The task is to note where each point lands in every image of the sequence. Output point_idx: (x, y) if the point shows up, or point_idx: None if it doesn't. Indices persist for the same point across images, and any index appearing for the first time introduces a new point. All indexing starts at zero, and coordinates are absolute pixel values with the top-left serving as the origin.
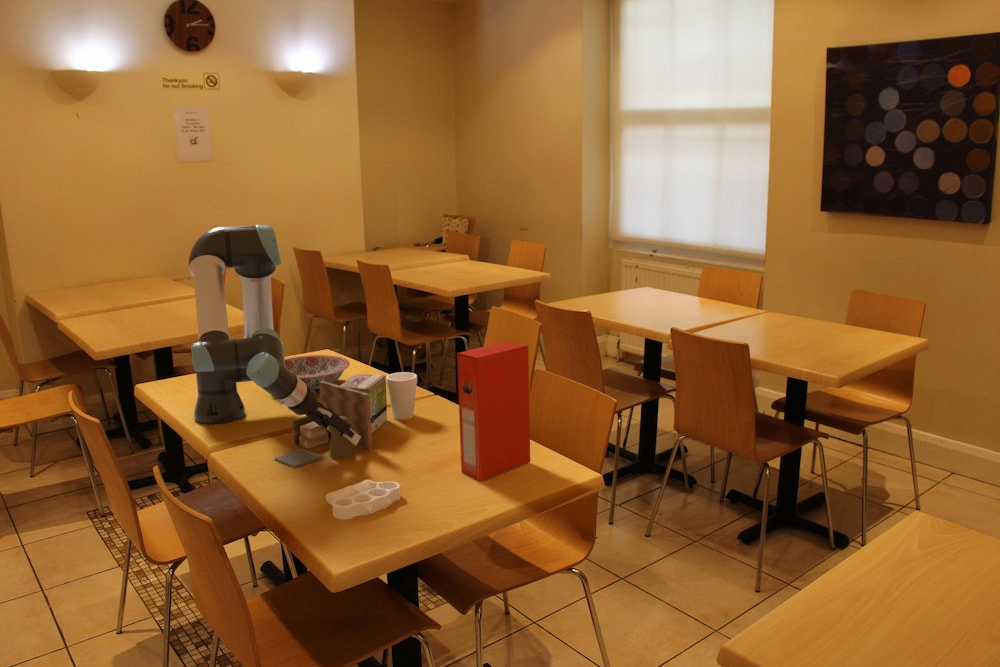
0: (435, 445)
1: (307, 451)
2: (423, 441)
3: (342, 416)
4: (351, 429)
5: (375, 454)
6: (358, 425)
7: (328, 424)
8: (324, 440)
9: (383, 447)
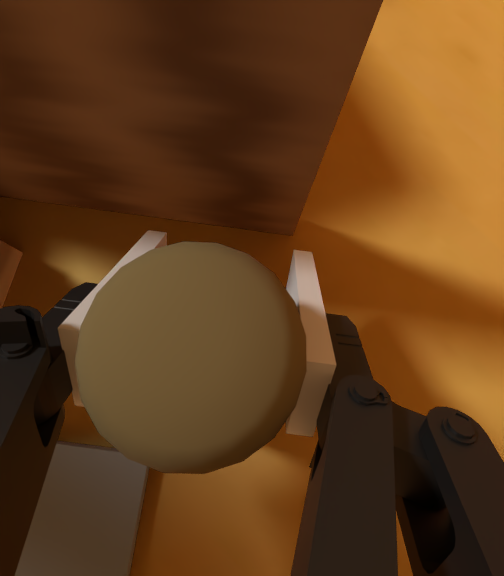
0: (490, 63)
1: None
2: (416, 52)
3: (205, 285)
4: (325, 316)
5: (360, 261)
6: (211, 153)
7: (64, 378)
8: (4, 270)
9: (324, 178)
